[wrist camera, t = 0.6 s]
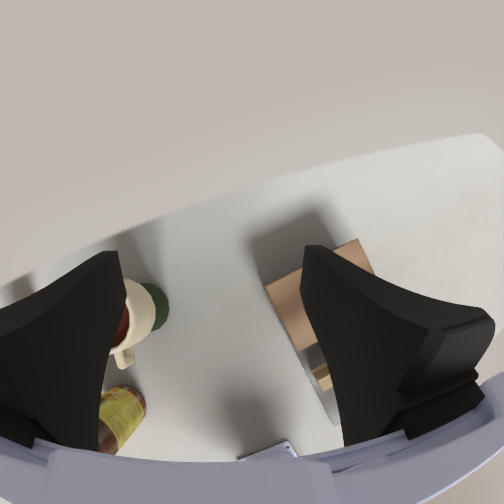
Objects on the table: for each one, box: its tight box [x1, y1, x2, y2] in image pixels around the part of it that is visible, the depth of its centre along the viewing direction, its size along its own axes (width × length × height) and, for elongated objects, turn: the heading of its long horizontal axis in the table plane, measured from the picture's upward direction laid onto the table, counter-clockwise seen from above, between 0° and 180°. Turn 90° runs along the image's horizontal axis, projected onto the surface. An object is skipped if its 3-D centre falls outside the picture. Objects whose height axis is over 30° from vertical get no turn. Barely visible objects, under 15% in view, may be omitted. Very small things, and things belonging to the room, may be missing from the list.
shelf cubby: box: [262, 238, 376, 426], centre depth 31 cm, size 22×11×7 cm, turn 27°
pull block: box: [311, 363, 333, 392], centre depth 31 cm, size 12×10×4 cm
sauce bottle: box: [98, 385, 146, 455], centre depth 23 cm, size 6×6×20 cm
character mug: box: [109, 279, 169, 369], centre depth 28 cm, size 11×7×13 cm, turn 11°
